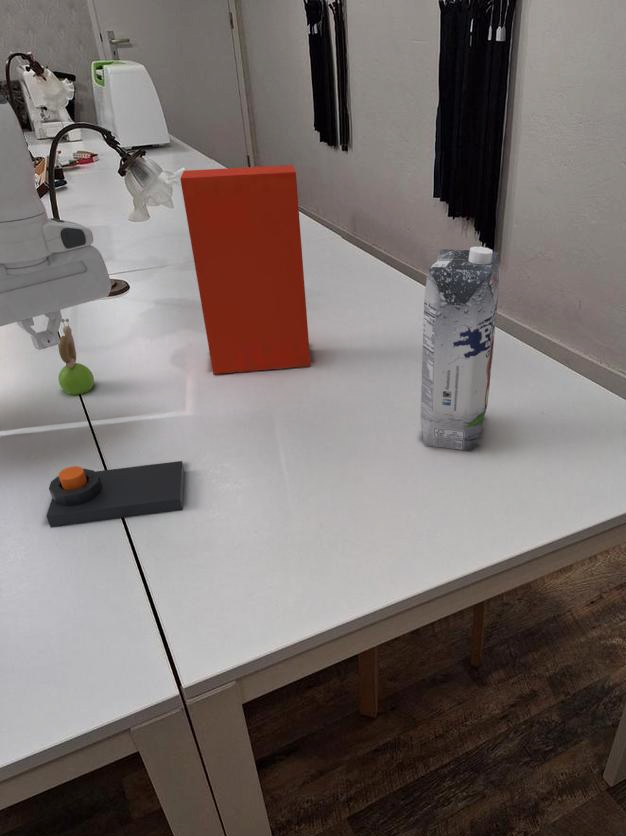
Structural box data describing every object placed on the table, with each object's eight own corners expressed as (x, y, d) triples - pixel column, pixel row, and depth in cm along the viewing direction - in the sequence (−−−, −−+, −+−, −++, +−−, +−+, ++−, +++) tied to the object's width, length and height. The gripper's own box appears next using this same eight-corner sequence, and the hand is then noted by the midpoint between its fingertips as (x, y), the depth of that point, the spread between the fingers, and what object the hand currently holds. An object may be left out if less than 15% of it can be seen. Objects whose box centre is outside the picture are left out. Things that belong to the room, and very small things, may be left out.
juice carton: (416, 449, 93) (421, 258, 78) (430, 414, 102) (437, 235, 86) (478, 457, 91) (496, 262, 76) (487, 420, 100) (505, 238, 84)
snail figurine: (100, 383, 114) (82, 316, 107) (94, 399, 109) (74, 331, 102) (68, 386, 113) (47, 319, 106) (60, 403, 108) (38, 334, 101)
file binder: (214, 357, 122) (183, 169, 103) (307, 349, 124) (292, 164, 105) (213, 375, 115) (180, 178, 97) (310, 367, 117) (295, 172, 99)
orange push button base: (50, 528, 81) (42, 505, 78) (63, 487, 88) (55, 465, 86) (182, 510, 83) (177, 488, 81) (184, 472, 90) (179, 450, 88)
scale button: (60, 492, 81) (56, 480, 80) (64, 479, 84) (60, 467, 83) (85, 489, 82) (81, 477, 81) (88, 476, 84) (85, 464, 83)
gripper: (-69, 263, 72) (-24, 378, 80) (103, 227, 84) (127, 330, 92) (-88, 253, 75) (-43, 363, 83) (79, 220, 87) (105, 319, 95)
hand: (47, 346), depth 87 cm, fingers closed
